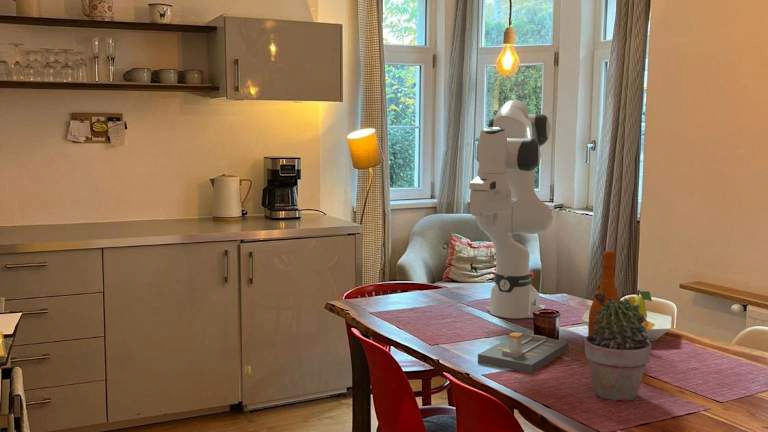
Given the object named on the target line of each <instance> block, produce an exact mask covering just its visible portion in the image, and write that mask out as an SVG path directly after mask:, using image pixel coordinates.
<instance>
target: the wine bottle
mask: <svg viewBox="0 0 768 432" xmlns="http://www.w3.org/2000/svg"><path fill="white" fill-rule="evenodd" d="M602 256H603V262H602V267H603V275H602V280H601V282H600V283H599V284H597V286H596V290H599V289H601V290H602V291H603V292H604V294H605V295H606V297H607V298H606V299H605V302H604V303H605V304H606V303H607V302H608V299H610V298H611V299H612V300H614V299H615V298H617V297H618V298H619V300H620V301H622V300H621V297H620V296H619V293H618V290H617V288H616V285H615V279H614V278H615V277H614V276H615V275H614V272H615V270H614V269H615V266H616V252H615V251H614V250H609V249H608V250H605V251H603V253H602ZM607 292H608V294H606V293H607ZM609 293H610V294H611V295H610V294H609ZM608 297H609V298H608ZM615 300H616V299H615ZM615 300H614V301H615ZM609 302H610V301H609ZM602 308H603V306H602V305H600V304H599V302H598V301H596V298H595V297H594V299H593V301H592V303H591V305H590V308H589V309H590V313H589V326H587V328H588V331H587V332H588V334H587V335H588V336H589V335H592V334H593V333H592V331H595V330H593V329H595V327H596V326H595V325H596V324H594V323H593V322H592V321H593V320H595V319H596V318H594V317H596V316H597V312H595V311H594V310H596V309H598V310H602ZM592 326H595V327H592ZM591 330H592V331H591Z"/></svg>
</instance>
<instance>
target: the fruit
mask: <svg viewBox="0 0 768 432" xmlns="http://www.w3.org/2000/svg"><path fill="white" fill-rule="evenodd" d="M627 299H628V300H629V302H630V304H631V305H637V304H638V305H639V306H640V307H639V312H640V313H641V314H643V315H644V318H645V320H646V321H644V322H643V324H642V325H643V326H644V327H645V328H646V330H645V332H643V333H642V334H643V335H644V336H648V337H647V338H650V339H647V340H648V341H649V342H653V341H654V342H656V341H658V340H659V339H660V337H662V336H663V335H664V334H666V333H667V332H669V330H671V328H672V316H671V315H666V314H663V313H656V312H654V311H653V312H652V311H648V310H646V302H645V300H646V301H649V302H652V296H651V292H650V291H645V290H643V291H641V290H640V289H637V292H636V295H635V296H629V297H628V298H627ZM590 309H591V308H587V309H586V311H585V313H584V314H583V317H582V318H581V321H582V322H583V324H585V326H587V327H588V326H589V319H586V318H589V313H590ZM645 316H646V317H645ZM653 318H654V319H653ZM647 321H649V322H647ZM587 322H588V323H587ZM650 322H651V323H650ZM646 332H647V333H646ZM654 339H655V340H654Z"/></svg>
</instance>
